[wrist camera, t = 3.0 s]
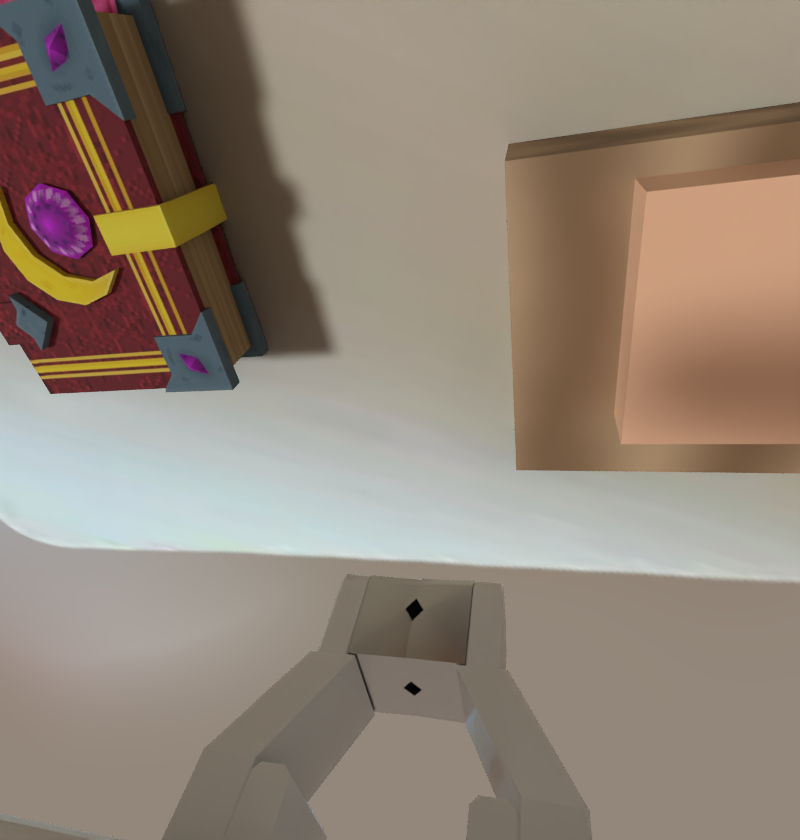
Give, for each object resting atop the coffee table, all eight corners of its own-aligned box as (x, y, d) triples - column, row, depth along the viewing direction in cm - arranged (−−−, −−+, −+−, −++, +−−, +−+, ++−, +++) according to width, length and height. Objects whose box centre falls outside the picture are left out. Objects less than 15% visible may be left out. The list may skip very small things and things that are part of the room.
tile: (861, 151, 15) (901, 162, 13) (782, 412, 20) (804, 444, 18) (635, 178, 16) (646, 191, 15) (614, 414, 21) (620, 443, 20)
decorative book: (101, 358, 31) (38, 403, 27) (-79, 24, 22) (-213, 17, 18) (272, 346, 28) (229, 395, 24) (142, -45, 19) (40, -71, 15)
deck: (1122, 55, 15) (1277, 56, 12) (940, 415, 23) (1008, 475, 19) (508, 144, 20) (504, 161, 17) (518, 420, 27) (516, 469, 24)
